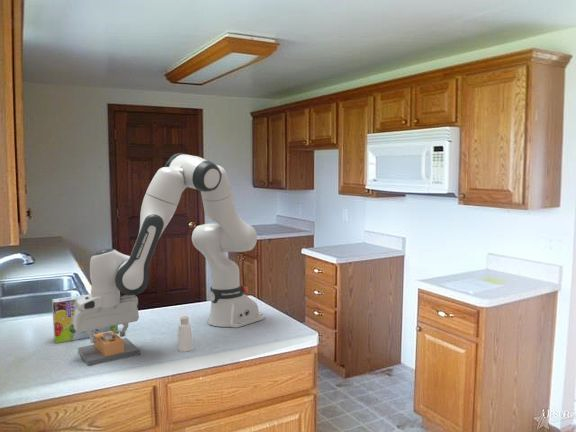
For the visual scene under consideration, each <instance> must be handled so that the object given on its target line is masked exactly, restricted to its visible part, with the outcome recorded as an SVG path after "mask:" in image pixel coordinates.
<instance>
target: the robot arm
mask: <svg viewBox="0 0 576 432" xmlns="http://www.w3.org/2000/svg"><path fill="white" fill-rule="evenodd" d="M230 183H231V182H230V180H229V178H228V174H227V172H226V169H225V168H224V167H223V166H222V165H217V164H216V163H214V162H212V161H210V160H207V159H205V158H202V157H200V156H198V155H191V154H187V153H184V152H179V153H174V154H173V155H171V156H170V157H169V159H168V160H167V162H166V164H165V165H164V167H160V168H159V169H158V170H157V171H156V173H155V174H154V176H153V177H152V180H151V181H150V183H149V184H148V187H147V189H146V192H145V195H144V196H143V199H142V204H141V208H140V214H139V215H140V216H139V217H140V218H139V230H138V235H137V238H136V240H135V243H134V246H133V248H132V250H131V254H130V255H128V254H124V253H121V252H120V251H118V250H116V249H114V248H105V249H101V250H98V251H96V252H94V253H93V254H92V255H91V257H90V259H89V260H90V261H89V279H90V282H91V288H90V293H89V295H88V294H86V295H87V296H85V297H83V298H80V299H78V300H77V301H76V304H77V307H78V308H77V309H76V310H75V313H74V329H75V330H76V331H77V332H84V331H86V333H87V334H88V335H89V337H90V338H89V340H90V341H89V342H90V343H91V344H94V343H95V342H96V337H95V336H92V335H91V334H90V333H92V330H95V329H100V328H105V327H110V326H115V325H118V326H119V325H120V326H121V325H122V326H123V327H122V329H121V330H119V337H120V338H125V337H126V332H127V330H128V328H129V324H131V323H136V322H138V320H139V318H140V314H139V308H138V305H139V298H138V297H137V296H138V295H140V294H142V293H143V292H144V291H145V290H146V289H147V287H148V286H149V283H150V273H149V272H150V271H149V267H150V263H151V260H152V258H153V255H154V253H155V250H156V247H157V245H158V242H159V240H160V238H161V236H162V234H163V233H164V231H165V229H166V227H167V226H168V224H169V223H170V221H171V219H172V218H173V216H174V214H175V212H176V211H177V207H178V205H179V202H180V200H181V197H182V193H183V192H184V191H185V189H187V188H190V189H194V190H196V191H200V194H201V199H202V204H203V211H204V214H205V215H206V217H207V218H208V219H209V220H211V221H212V222H214V223H203V224H200V225H197V226H196V227H195V228H194V229H193V231H192V235H191V242H192V245H193V246H194V248H195V249H196V250H198V252H200V253H201V254H202V255H203V257H205V259H206V261H207V263H208V266H209V270H210V278H211V280H210V283H211V284H210V285H211V286H210V294H209V295H210V302H211V303H210V312H209V318H208V321H207V322H208V323H207V324H209V325H211V326H214V327H219V328H220V327H222V328H223V327H224V328H226V327H227V328H240V327H244V326H247V325H249V324H253V323H256V322H258V321H262V320H264V319H265V315H264V313H262V312H260V311H259V305H258V303H257V302H256V301H255V300H254V299H252V298H250V297H249V296H247V294H245V293H248V292H249V287H248V286H245V285H244V286H243V285H241V284H240V282H241V281H240V267H239V265H238V264H237V263H236V262H235V261H233V260H231V259H229V258H228V257H227V256H226V253H242V252H249V251H252V250H253V249H254V248H255V247H256V245H257V241H258V234H257V231H256V229H255V228H254V227H253V226H252V225H250V224H249V223H247V222H246V221H245V220H244V219H243V218H241V216H240V215H239V213H238V211H237V210H236V208H235V204H234V199H233V193H232V188H231V184H230ZM121 293H122V294H124V295H121ZM136 295H137V296H136Z"/></svg>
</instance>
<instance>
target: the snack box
mask: <svg viewBox="0 0 576 432" xmlns="http://www.w3.org/2000/svg"><path fill="white" fill-rule="evenodd" d="M89 294H90V293H89ZM89 294H81V295H75V296H68V297H67V296H65V297H59V298H53V299H51V308H52V309H51V311H52V322H53V323H52V325H53V326H52V327H53V336H54V337H53V338H54V342H55V344H60V343H64V342H65V343H66V342H72V341H78V340H81V339H82V340H84V339H88V338H89V339H90V337H89V335H88V334H87V333H86V331H84V332H77V331H76V330H75V329H74V313H75V310H76V309H77V308H78V307H77V304H76V301H77V300H78V299H80V298H83V297H85V296H87V295H89ZM107 331H112V332H114V333H115V334H117V333H119V325H115V326H110V327H105V328H100V329H95V330H92V333H90V334H91V335H92V336H93V334H98V333H103V332H107Z"/></svg>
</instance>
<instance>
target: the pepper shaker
mask: <svg viewBox="0 0 576 432" xmlns="http://www.w3.org/2000/svg"><path fill="white" fill-rule="evenodd" d="M189 318H190V317H189V316H186V315H185V316H181V317H180V318H179V320H180V324H179V325H178V331H177V332H178V335H177V336H178V337H177V347H176V349H177V351H178V352H181V353H186V352H190V351H192V350H194V342H193V341H194V340H193V333H192V327H191V324H190V322H189V321H190V320H189Z"/></svg>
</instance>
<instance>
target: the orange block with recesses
mask: <svg viewBox="0 0 576 432" xmlns="http://www.w3.org/2000/svg"><path fill="white" fill-rule="evenodd" d="M109 332H110V333H113V338H112V339H108V340H103V334H104V333H109ZM93 336H95V337H96V342H95V343H93V345H94V347H96V348H97V349H98V350H99V351H100V352H101V353H102V354H103V355H104V356H105V357H106V356H110V355H114V354H118V353H122V352H124V340H123V337H121V336H120V335H118V334H117V333H114V332H112V331H107V332H103V333H98V334H93Z"/></svg>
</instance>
